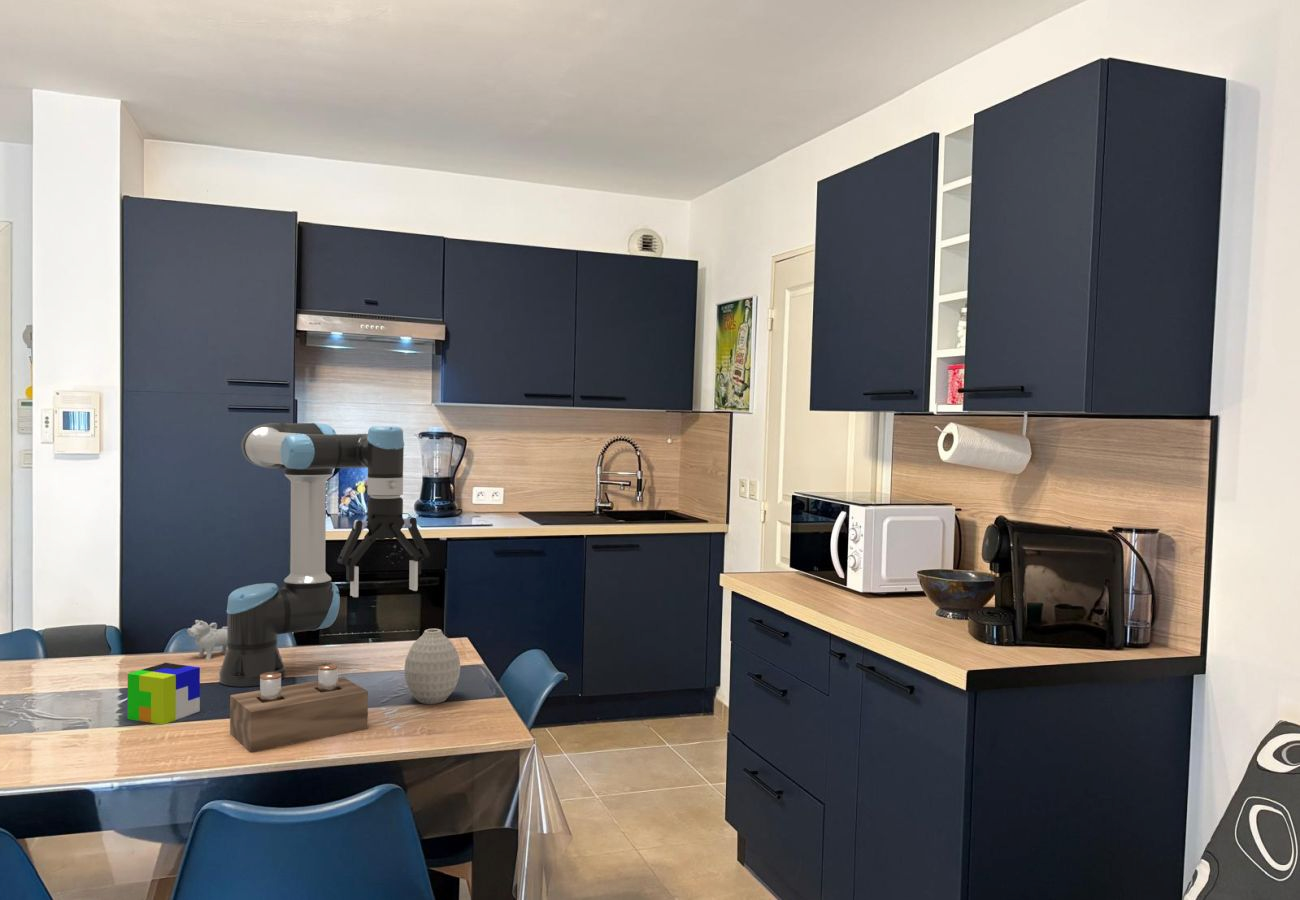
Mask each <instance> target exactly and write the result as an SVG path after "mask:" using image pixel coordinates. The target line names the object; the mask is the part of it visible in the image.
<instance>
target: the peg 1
mask: <svg viewBox="0 0 1300 900" xmlns="http://www.w3.org/2000/svg"><path fill="white" fill-rule="evenodd" d="M259 686H260V687H259V690H260V701H261V702H262V703H265V702H271V701H277V700H281V687H282V679H281V673H280V672H266V673H262V674H261V675H260V685H259Z"/></svg>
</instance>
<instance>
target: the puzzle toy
mask: <svg viewBox="0 0 1300 900" xmlns="http://www.w3.org/2000/svg"><path fill="white" fill-rule="evenodd" d="M200 701H201V667H200V666H192V665H185V664H178V663H170V662H169V663H168V662H163V663H160V664H156V665H154V666H150V667H147V668H143V669H139V670H136V671H133V672H129V673H127V720H130V721H131V720H132V721H137V722H145V723H150V724H151V723H152V724H156V725H157V724H158V725H162V726H163V725H167V724H169V723H172V722H175V721H176V720H180V719H182V718H185V717H188V716H191V715H194V714H195V713H199V712H200V711H201V709H200V707H201V706H200V705H201V702H200Z"/></svg>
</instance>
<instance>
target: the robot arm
mask: <svg viewBox="0 0 1300 900" xmlns="http://www.w3.org/2000/svg"><path fill="white" fill-rule="evenodd" d="M367 430H368V433H357V434H356V433H355V434H351V433H350V434H345V433H343V434H338V433H337V432H336V431H335V429H334V428H333V427H332V426H331V425H330V424H325V423H315V422H310V423H309V422H306V423H304V422H299V423H298V422H294V423H293V422H292V423H291V422H288V423H287V422H284V423H283V422H268V423H264V424H259V425H257V426H254V427H252V428H251V429H249V431H247V432H246V433H245V435H244V436H243V438H242V441H241V450H242V451H241V452H242V454H243V456H244V458H245V459H246V460H247V461H248V462H249V463H251V464H252V465H255V466H258V467H262V468H266V469H284V476H285V477H286V478H287V479H288V480H289V481H290V564H289V565H290V566H289V567H290V569H289V571H290V573H289V575H287V577H285V578H284V579H283V587H282V588H281V587H278V585H277V583H273V582H265V583H255V584H250V585H245V586H241V587H239V588H237V589H234V590H233V591H232V592H231V593H230V594H229V595H228V598H227V607H226V615H227V619H226V620H227V621H226V622H227V623H226V624H227V625H226V627H227V648H226V653H225V656H224V659H223V662H222V665H221V668H220V671H219V683H220V684H222V685H224V686H228V687H255V686H260V675H261V674H262V673H266V672H280V673H281V680H282V679H284V677H285V673H286V672H285V669H286V668H285V664H284V662H283V660H282V656H281V653H280V650H279V648H278V637H279V636H278V635H284V634H289V633H290V634H291V633H299V632H307V631H312V632H313V631H317V630H322V629H327V628H330V627H331V626H332V625H333V624H334V622H335V621H336V619H337V617H338V614H339V610H340V604H341V597H340V590H339V587H338V586H337V585H336V583H333V582H332V577H331V576H330V575H329V574H328V573H327V572H326V538H327V537H326V532H327V531H326V528H327V527H326V521H327V520H326V519H327V517H326V516H327V515H326V514H327V513H326V511H327V510H326V509H327V507H326V503H327V500H326V499H327V498H326V497H327V491H326V490H327V481H328V480H329V479H330V478H331V477H332V476H333V469H354V468H355V469H357V468H361V469H363V468H365V469H367V493H366V494H367V495H368V496H370V497H368V498H367V503H366V504H367V505H366V506H367V518H366V520H359V519H354V520H353V521H352V526H351V531H350V533H349V534H348V537H347V539H346V541H345V544H344V545H343V547H342V550H340V553H339V556H338V558H337V560H336V562H337V563H338V564H341V565H344V566H345V571H346V573H345V579H346V581H347V582H349V583H350V585H349V589H350V591H349V596H350V597H351V596H352V598H359V582H360V581H359V573H360V571H359V569H360V568H359V566H357V563H358V562H359V561H360V560H361V558H362V557H363V555H364V554H365V553H366V552H367V551H368V549H369V548H370V547H371V545H372V544H373V543H375V541H376V540H381V541H382V540H386V539H389V540H393V539H396V540H397V542H398V543H399V544H400V545H401V546H402V548H404V550H405V551H406V552H407V553H408V554H409V556H410V557H411V558H412V559H410V560H409V565H408V566H409V569H408V570H409V575H408V577H409V579H408V581H409V582H408V586H409V587H408V589H409V590H411V591H413V592H417V591H418V587H419V582H418V580H419V576H421V574H422V562H423V561H424V560H425V559H426V558H430V555H431V553H430V552H429V550H428V547H427V545H426V543H425V541H424V539H423V537H422V536H423V535H421V532H420V531H419V528H418V520H417V518H416V517H413V516H407V518H404V517H403V513H404V499H403V498H402V497H401V496H403V494H404V449H405V448H404V447H405V440H404V430H403V429H402V428H401V427H399V426H371V427H369V428H368V429H367ZM404 525H405V528H407V529H408V532H409V534H410V536H411V538H412V540H413V542H414V545H415V547H416V548H415V547H414V545H413V544H412V543H411V541H410V540H409V539H408V538H407V536H406V535H405V534H404V532H403V531H402V528H403V527H404ZM365 527H366V528H367V530H368V531H367V533H366V534H365V536H364V537H363V538H362V540H361V541H360V543H359V544H358V545H357V546H356V544H357V542H358V540H359V538H360V536H361V534H362V531H364V529H365ZM355 547H356V548H355ZM354 548H355V549H354Z"/></svg>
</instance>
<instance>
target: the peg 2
mask: <svg viewBox="0 0 1300 900" xmlns="http://www.w3.org/2000/svg"><path fill="white" fill-rule="evenodd" d="M317 667H318V668H317V669H318V670H317V677H318V679H317V681H318V691H319V692H321V693H323V692H328V691H334V690H338V677H339V664H338V663H337V662H335V663H334V662H325V663H321V664H318V666H317Z"/></svg>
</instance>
